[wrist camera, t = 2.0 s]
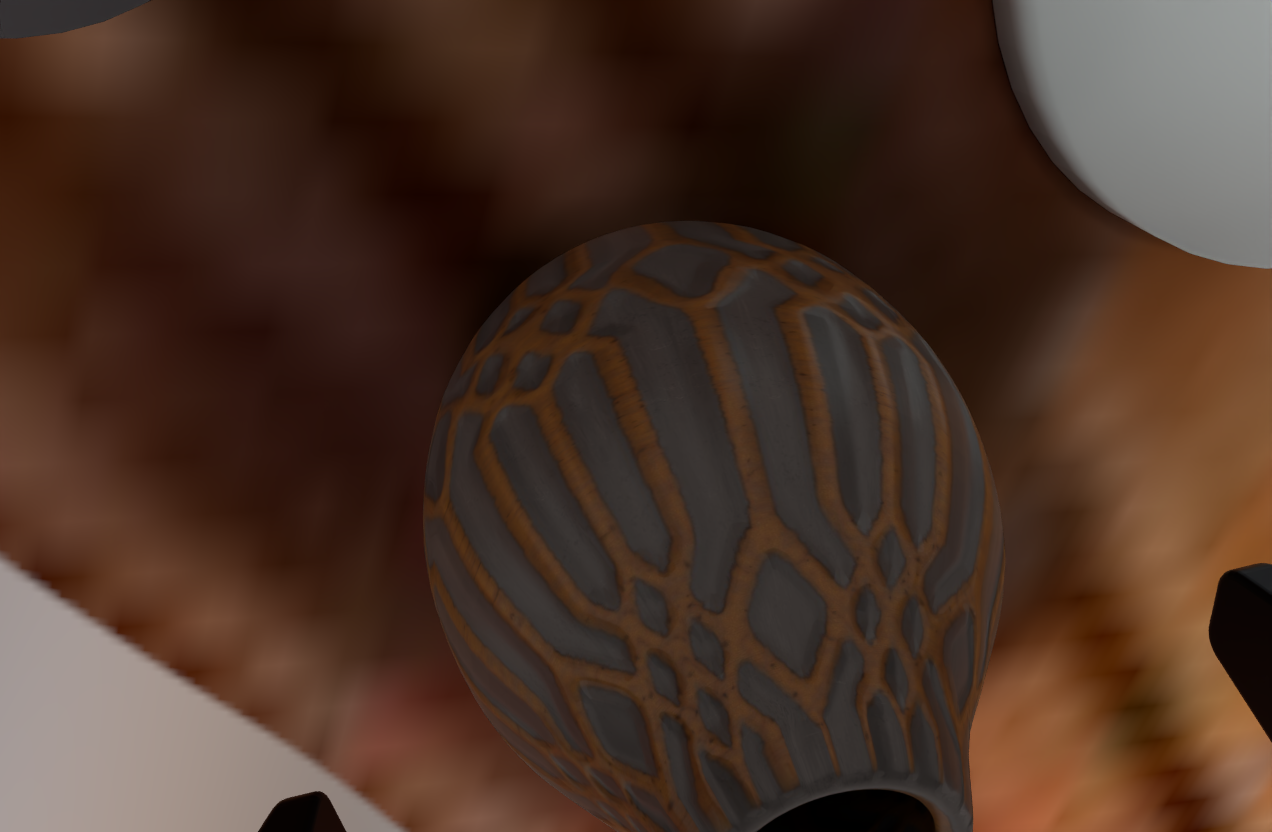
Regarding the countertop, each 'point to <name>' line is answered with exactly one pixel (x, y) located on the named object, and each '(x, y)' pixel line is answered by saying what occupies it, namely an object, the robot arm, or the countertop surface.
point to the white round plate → (1155, 112)
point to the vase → (717, 539)
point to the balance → (57, 15)
